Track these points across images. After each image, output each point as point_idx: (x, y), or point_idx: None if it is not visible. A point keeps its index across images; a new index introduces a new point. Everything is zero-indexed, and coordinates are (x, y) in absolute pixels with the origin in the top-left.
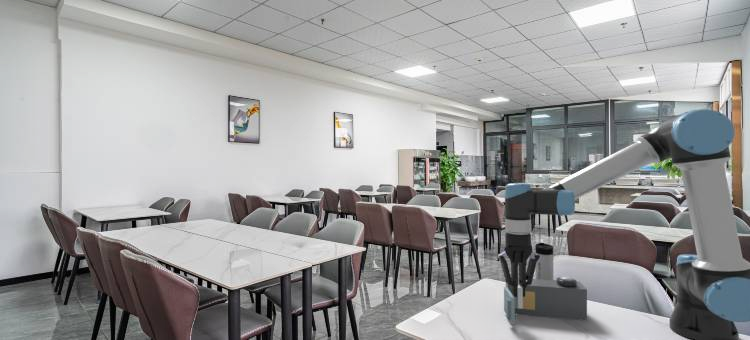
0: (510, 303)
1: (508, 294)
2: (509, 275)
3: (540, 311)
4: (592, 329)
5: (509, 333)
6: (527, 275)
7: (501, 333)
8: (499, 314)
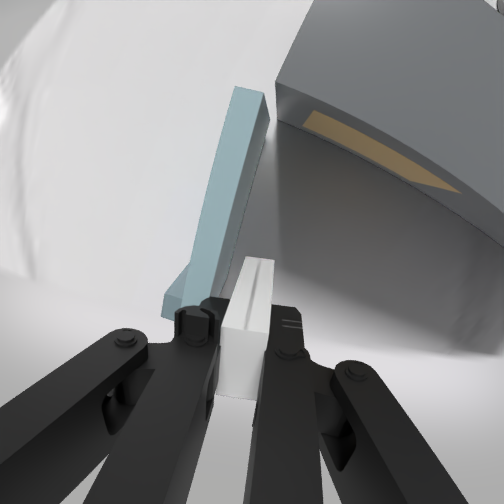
0: None
1: (191, 260)
2: (91, 457)
3: (428, 192)
4: (490, 331)
5: None
6: (349, 461)
7: (149, 312)
8: None
